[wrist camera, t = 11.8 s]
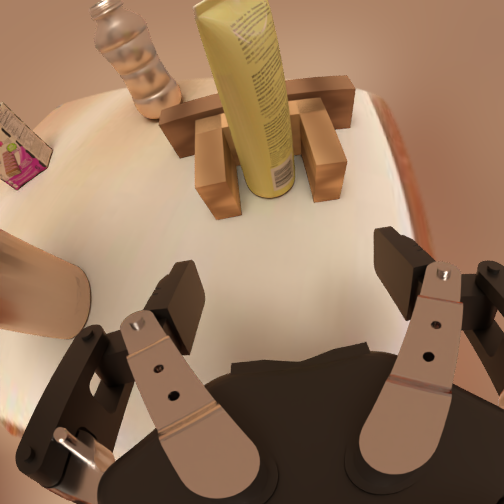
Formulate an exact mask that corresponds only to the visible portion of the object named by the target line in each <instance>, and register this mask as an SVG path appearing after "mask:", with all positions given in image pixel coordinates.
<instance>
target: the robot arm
mask: <svg viewBox="0 0 504 504" xmlns="http://www.w3.org/2000/svg"><path fill="white" fill-rule="evenodd" d="M374 268H375V271H376V274H377V276H378V277H379V279H380V280H381V282H382V283H383V285H384V286H385V288H386V289H387V291H388V293H389V294H390V296H391V297H392V299H393V301H394V302H395V304H396V305H397V307H398V309H399V310H400V312H401V314H402V315H403V317H404V319H405V320H406V321H408V320H410V323H409V327H408V329H407V332H406V335H405V338H404V341H403V344H402V346H401V349H400V352H399V354H398V356H397V355H395V354H391V353H386V352H377V351H370V350H369V348H368V345H367V343H366V342H364V343H360V344H355V345H351V346H346V347H341V348H336V349H333V350H330V351H328V352H325V353H323V354H320V355H318V356H315V357H312V358H310V359H307V360H304V361H301V362H290V361H273V360H259V361H250V362H240V363H232V365H231V373H229V374H226V375H223V376H221V377H218V378H216V379H214V380H212V381H211V382H209V383H207V384H206V385H203V384H202V383H201V381H200V380H199V379H198V377H197V376H196V375H195V373H194V372H193V371H192V369H191V368H190V366H189V365H188V364H187V362H186V361H185V359H184V358H183V356H182V355H190V352H191V349H192V345H193V342H194V338H195V335H196V331H197V328H198V324H199V321H200V317H201V314H202V310H203V307H204V304H205V293H204V289H203V286H202V283H201V280H200V278H199V275H198V272H197V269H196V266H195V263H194V262H193V261H192V260H188V261H182V262H177V263H175V265H174V266H173V268H172V270H171V272H170V273H169V275H166V276H165V277H164V278H163V279H162V280H160V281H159V283H158V285H157V286H156V288H155V289H156V290H154V292H153V293H152V295H151V297H150V299H149V300H148V302H147V304H146V306H145V307H144V309H143V310H142V311H138V312H135V313H133V314H131V315H129V316H128V317H127V318H126V319H125V320H124V321H123V322H122V324H121V326H120V330H118V331H115V332H112V333H108V334H106V333H105V331H104V330H103V328H102V327H101V326H100V325H91V326H88V327H86V328H85V329H83V330H82V328H83V326H84V324H85V322H86V320H87V317H88V313H89V308H90V288H89V283H88V280H87V277H86V275H85V274H84V272H83V271H82V270H81V269H80V268H79V267H77V266H75V265H73V264H71V263H69V262H66V261H64V260H62V259H60V258H58V257H56V256H54V255H52V254H49V253H47V252H45V251H43V250H41V249H39V248H37V247H35V246H33V245H31V244H29V243H27V242H25V241H23V240H21V239H19V238H17V237H15V236H13V235H11V234H9V233H7V232H5V231H3V230H2V229H0V329H4V330H9V331H14V332H20V333H25V334H32V335H38V336H43V337H51V338H59V339H70V338H73V337H74V336H76V335H77V334H78V335H77V336H76V337H75V339H74V341H73V342H72V344H71V345H70V347H69V349H68V350H67V352H66V354H65V355H64V357H63V359H62V360H61V362H60V364H59V365H58V367H57V369H56V371H55V373H54V374H53V376H52V378H51V380H50V382H49V383H48V385H47V387H46V389H45V391H44V393H43V395H42V397H41V398H40V400H39V402H38V404H37V406H36V408H35V410H34V413H33V415H32V417H31V419H30V421H29V423H28V425H27V427H26V430H25V432H24V434H23V437H22V439H21V441H20V444H19V446H18V449H17V452H16V464H17V467H18V469H19V470H20V471H21V472H22V473H24V474H25V475H27V476H28V477H30V478H31V479H33V480H34V481H36V482H37V483H39V484H40V485H41V486H42V487H44V488H46V489H47V490H49V491H51V492H53V493H55V494H56V495H58V496H60V497H62V498H64V499H66V500H69V501H72V502H74V503H76V504H504V332H503V331H502V330H501V328H500V327H499V325H498V324H497V323H496V321H495V320H494V318H495V315H496V312H497V310H499V312H500V313H501V314H502V316H503V317H504V266H503V265H501V264H499V263H497V262H494V261H483V262H480V263H479V265H478V268H477V273H476V274H461V271H460V269H459V268H458V267H457V266H455V265H453V264H451V263H448V262H443V261H438V262H436V261H435V260H434V259H433V258H432V257H431V256H430V255H429V254H428V253H427V252H426V251H425V250H423V249H422V248H421V247H420V246H418V244H417V243H416V242H415V241H414V240H413V239H411V238H409V237H406V236H404V235H400V234H399V233H398V232H397V231H396V230H395V229H394V228H392V227H391V226H389V227H383V228H377V229H375V230H374ZM81 330H82V331H81ZM461 330H463V331H464V333H465V334H466V336H467V338H468V339H469V341H470V343H471V344H472V346H473V347H474V349H475V351H476V353H477V355H478V356H479V358H480V360H481V361H482V364H483V365H484V367H485V369H486V371H487V373H488V375H489V376H490V378H491V381H492V383H493V385H494V387H495V389H496V391H497V393H498V395H499V400H498V406H496V405H494V404H492V403H490V402H488V401H486V400H484V399H482V398H480V397H478V396H476V395H474V394H472V393H470V392H468V391H466V390H464V389H462V388H460V387H458V386H457V385H455V384H453V378H454V373H455V368H456V363H457V357H458V350H459V343H460V335H461ZM94 372H95V373H96V374H97V375H98V376H99V378H100V379H101V381H100V384H99V386H98V388H97V391H96V393H95V395H94V397H93V395H92V394H91V392H90V388H89V385H90V381H91V379H92V377H93V374H94ZM134 382H136V384H137V387H138V389H139V391H140V394H141V396H142V398H143V401H144V403H145V405H146V407H147V410H148V412H149V414H150V416H151V418H152V420H153V422H154V424H155V426H156V428H155V429H154V430H153V431H152V432H151V433H150V434H148V435H147V436H146V437H145V438H144V439H142V440H141V441H140V442H139V443H138V444H136V445H135V446H134V447H133V448H131V449H130V450H129V451H128V452H127V453H125V454H124V455H123V456H121V457H120V458H119V459H118V460H116V461H115V458H114V455H113V450H114V446H115V443H116V439H117V436H118V432H119V429H120V426H121V422H122V419H123V416H124V413H125V409H126V406H127V403H128V400H129V397H130V394H131V391H132V388H133V385H134Z"/></svg>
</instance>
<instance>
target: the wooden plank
mask: <svg viewBox="0 0 504 504" xmlns="http://www.w3.org/2000/svg"><path fill="white" fill-rule="evenodd" d="M285 84H286V90H287V97H288V101H294V100H301V99H310V98H321V100H322V102H323V104H324V106H325V109H326V111H327V113H328V115H329V117H330V120H331V122H332V124H333V127H334V129H342V128H350V124H351V118H352V111H353V104H354V97H355V87H354V86H353V84H352V82H351V81H350V79H349V78H348V76H347V75H346V76H345V75H344V76H327V77H313V78H303V79H295V80H287V81H285ZM223 113H224V110H223V107H222V104H221V100H220V97H219V94H214V95H210V96H206V97H202V98H199V99H195V100H192V101H188V102H185V103H182V104H178V105H175V106H172V107H169V108H166V109H163V110H161V114H160V120H159V126H160V128H161V129H162V131H163V133H164V134H165V136H166V137H167V139H168V140H169V142H170V144H171V145H172V147H173V148H174V150H175V151H176V153H177V154H178V156H179V158H183V157H187V156H191V155H194V154H195V120H199V119H203V118H207V117H211V116H215V115H219V114H223Z"/></svg>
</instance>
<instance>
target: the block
mask: <svg viewBox="0 0 504 504" xmlns="http://www.w3.org/2000/svg"><path fill="white" fill-rule="evenodd" d="M288 105H289V112H290V121H291V130H292V140H293V152H294V155H299V154H301V155H302V158H303V162H304V166H305V169H306V173H307V177H308V180H309V184H310V188H311V192H312V196H313V200H314V203H315V202H321V201H328V200H334V199H339V198H340V193H341V189H342V184H343V180H344V175H345V170H346V165H347V159H346V156H345V154H344V151H343V149H342V146H341V144H340V141H339V139H338V136H337V134H336V131H335V129H334V127H333V124H332V122H331V120H330V117H329V115H328V113H327V111H326V109H325V106H324V104H323V102H322V100H321V98H310V99H301V100H294V101H288ZM237 165H241V164H240V161H239V158H238V155H237V152H236V148H235V145H234V142H233V139H232V136H231V132H230V129H229V126H228V123H227V119H226V116H225V113H223V114H219V115H215V116H211V117H207V118H203V119H199V120H195V189H196V190H197V192H198V193H199V195H200V196H201V198H202V199H203V201H204V202H205V204H206V205H207V207H208V208H209V210H210V211H211V213H212V214H213V215H214V217H215V218H216V220H218V219H223V218H229V217H234V216H239V215H242V214H241V205H240V196H239V187H238V178H237V169H236V166H237Z"/></svg>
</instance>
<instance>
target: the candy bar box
mask: <svg viewBox="0 0 504 504" xmlns="http://www.w3.org/2000/svg"><path fill="white" fill-rule="evenodd" d="M52 151H53V150H52V149H51V148H50V147H49V146H48V145H47V144H46V143H45V142H44V141H43V140H42V139H40V138H39V137H38V136H37V135H36V134H35V133H34V132H33V131H32V130H31V129H30V128H29V127H28V126H27V125H25V123H23V121H21V120H20V119H19V118H18V117H17V116H16V115H15V114H14V113H13V112H12V111H11V110H10V109H9V108H8V107H7V106H6V105H5V104H4V103H3V102H1V103H0V179H1V180H3V181H4V182H6V183H7V184H9V185H10V186H11V187H13V188H14V189H16V190H17V189H19V188H20V187H21V186H23V185H24V184H25V183H27V182H28V181H29V180H31V179H32V178H33V177H35V176H36V175H38V174H39V173H40V172H42V171H43V170H45V169H46V168H47V167H48V165H49V161H50V157H51V154H52Z"/></svg>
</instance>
